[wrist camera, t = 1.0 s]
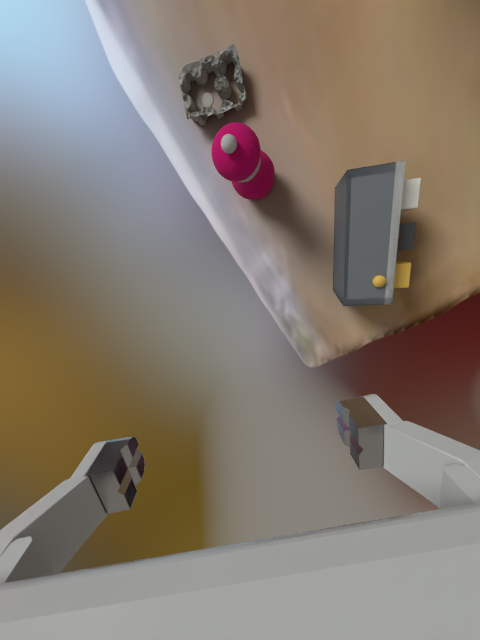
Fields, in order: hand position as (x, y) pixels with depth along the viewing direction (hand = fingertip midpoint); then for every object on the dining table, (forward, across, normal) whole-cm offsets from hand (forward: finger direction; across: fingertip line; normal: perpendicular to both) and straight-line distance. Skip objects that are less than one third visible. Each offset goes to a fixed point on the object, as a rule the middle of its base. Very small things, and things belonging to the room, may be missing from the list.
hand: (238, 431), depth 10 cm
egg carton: (+44, -3, -32) cm, 54 cm away
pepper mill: (+42, -8, -17) cm, 46 cm away
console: (+37, -23, -4) cm, 44 cm away
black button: (+31, -26, -4) cm, 41 cm away
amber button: (+31, -26, +2) cm, 41 cm away
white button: (+31, -26, -9) cm, 42 cm away
